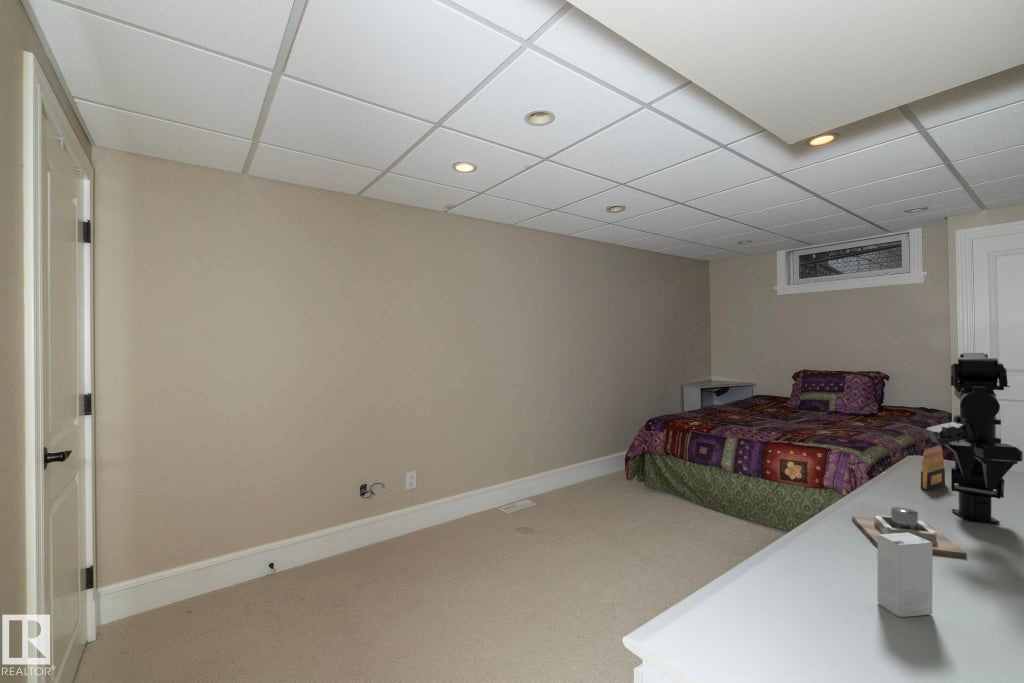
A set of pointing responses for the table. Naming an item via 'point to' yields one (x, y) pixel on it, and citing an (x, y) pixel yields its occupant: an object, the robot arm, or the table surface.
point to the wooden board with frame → (925, 531)
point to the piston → (904, 518)
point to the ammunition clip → (932, 468)
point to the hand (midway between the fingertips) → (977, 481)
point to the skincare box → (904, 574)
